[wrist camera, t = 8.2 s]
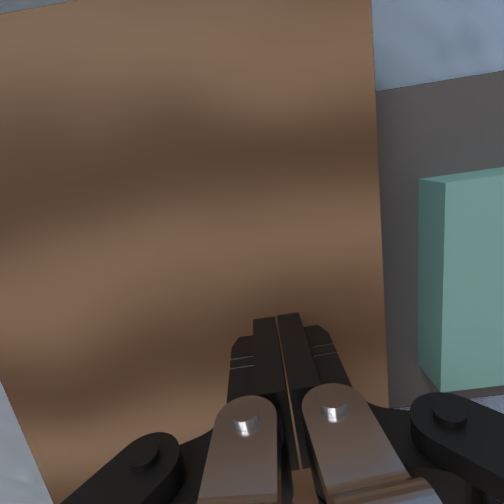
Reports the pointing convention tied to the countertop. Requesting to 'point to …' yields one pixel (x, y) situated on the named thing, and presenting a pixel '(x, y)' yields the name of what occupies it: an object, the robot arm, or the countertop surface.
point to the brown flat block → (179, 211)
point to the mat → (407, 196)
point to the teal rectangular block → (461, 279)
